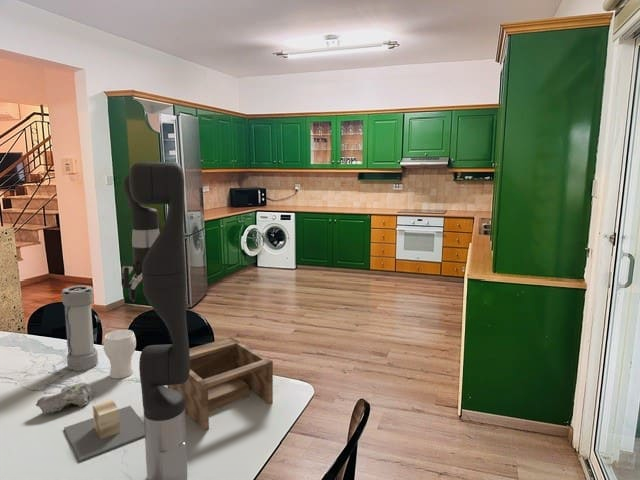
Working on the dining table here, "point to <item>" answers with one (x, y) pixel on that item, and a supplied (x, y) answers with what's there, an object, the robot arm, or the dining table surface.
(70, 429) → the mat
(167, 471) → the robot arm
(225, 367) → the access box
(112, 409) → the block
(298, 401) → the dining table surface
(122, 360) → the cup
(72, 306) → the canister
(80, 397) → the rock
